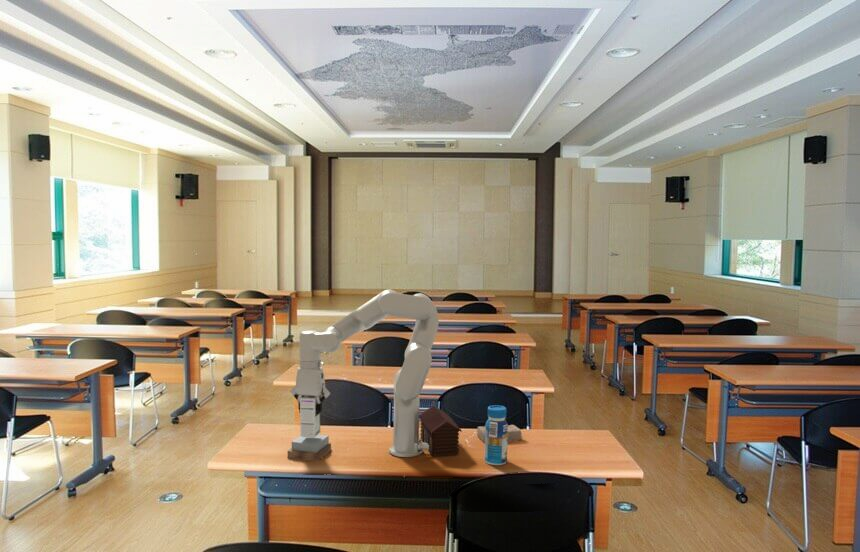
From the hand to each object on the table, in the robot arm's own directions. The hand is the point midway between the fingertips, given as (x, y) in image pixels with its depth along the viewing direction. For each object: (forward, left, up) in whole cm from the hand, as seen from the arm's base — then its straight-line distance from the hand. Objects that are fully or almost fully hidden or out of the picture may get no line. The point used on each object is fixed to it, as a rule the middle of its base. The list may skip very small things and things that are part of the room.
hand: (310, 412), depth 227 cm
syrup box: (0, 0, -9) cm, 9 cm away
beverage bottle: (-68, -10, -16) cm, 70 cm away
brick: (-66, -35, -16) cm, 77 cm away
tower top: (0, 0, -13) cm, 13 cm away
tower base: (0, 0, -16) cm, 16 cm away
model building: (-45, -19, -16) cm, 51 cm away
